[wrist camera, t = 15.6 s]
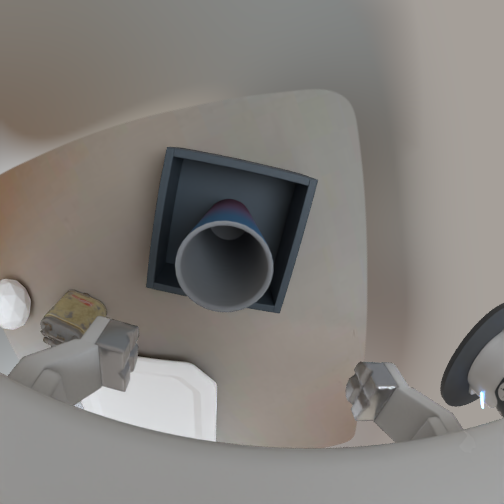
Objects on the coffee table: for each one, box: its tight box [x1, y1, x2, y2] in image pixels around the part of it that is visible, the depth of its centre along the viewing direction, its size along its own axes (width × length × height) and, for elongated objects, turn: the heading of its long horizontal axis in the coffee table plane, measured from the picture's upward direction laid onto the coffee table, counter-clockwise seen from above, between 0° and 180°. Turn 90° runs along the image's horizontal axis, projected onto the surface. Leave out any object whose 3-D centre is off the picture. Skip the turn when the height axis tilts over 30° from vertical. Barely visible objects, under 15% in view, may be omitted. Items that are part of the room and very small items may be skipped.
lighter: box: [40, 290, 107, 347], centre depth 34 cm, size 7×4×10 cm, turn 69°
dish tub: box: [146, 147, 318, 313], centre depth 33 cm, size 15×15×7 cm
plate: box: [81, 356, 217, 442], centre depth 44 cm, size 25×25×2 cm
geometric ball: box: [0, 279, 31, 329], centre depth 34 cm, size 8×8×8 cm
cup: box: [175, 199, 273, 312], centre depth 28 cm, size 7×7×15 cm
